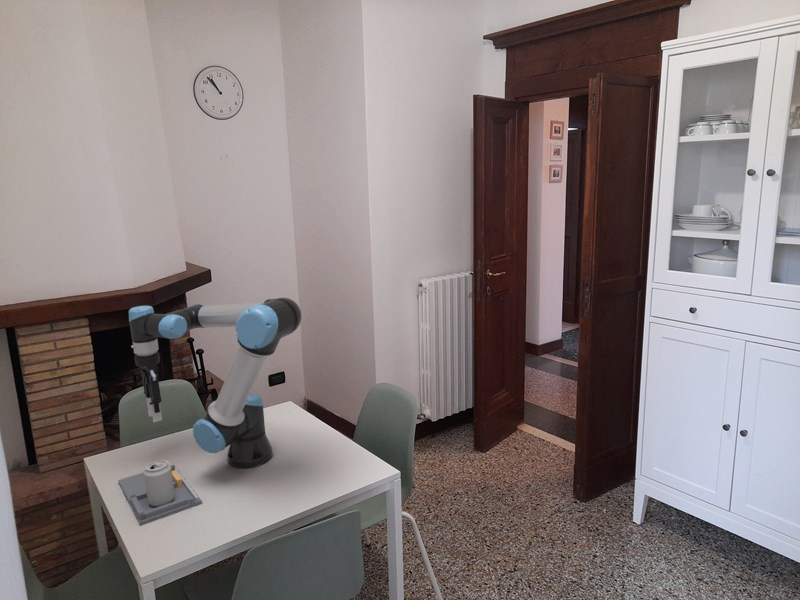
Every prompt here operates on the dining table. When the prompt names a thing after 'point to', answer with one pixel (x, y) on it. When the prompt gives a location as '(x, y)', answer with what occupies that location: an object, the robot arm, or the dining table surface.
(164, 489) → the can
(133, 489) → the housing
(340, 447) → the dining table surface
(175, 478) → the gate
